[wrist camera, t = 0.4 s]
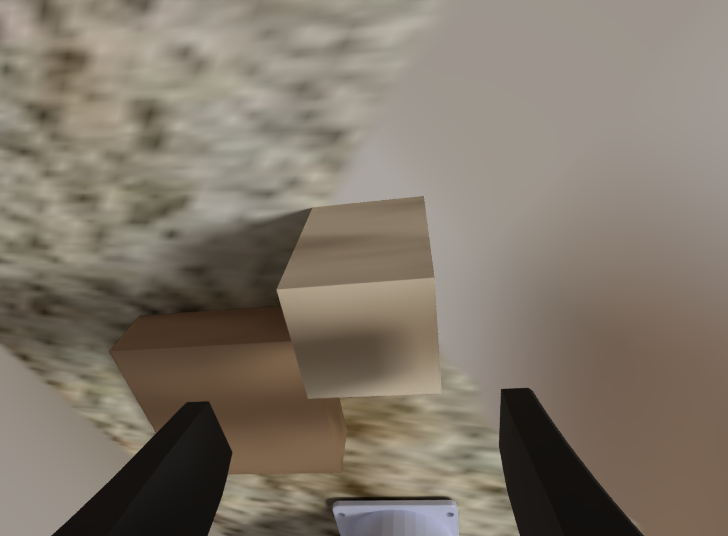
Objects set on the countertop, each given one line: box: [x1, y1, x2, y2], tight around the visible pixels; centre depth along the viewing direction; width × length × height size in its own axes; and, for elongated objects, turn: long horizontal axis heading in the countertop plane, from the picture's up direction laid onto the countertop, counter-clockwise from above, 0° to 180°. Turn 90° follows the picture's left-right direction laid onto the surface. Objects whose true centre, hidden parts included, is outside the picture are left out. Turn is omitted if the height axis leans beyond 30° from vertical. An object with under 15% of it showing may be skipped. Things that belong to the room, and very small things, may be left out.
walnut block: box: [109, 306, 347, 474], centre depth 22 cm, size 9×9×3 cm
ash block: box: [277, 196, 441, 399], centre depth 16 cm, size 4×4×6 cm
